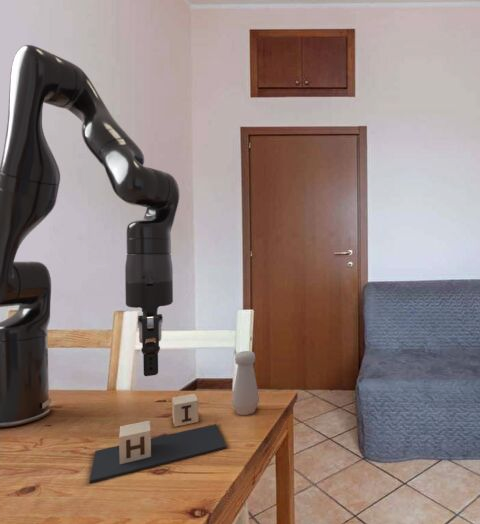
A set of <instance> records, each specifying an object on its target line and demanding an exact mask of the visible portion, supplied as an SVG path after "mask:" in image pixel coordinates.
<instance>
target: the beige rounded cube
mask: <svg viewBox="0 0 480 524" xmlns="http://www.w3.org/2000/svg"><path fill="white" fill-rule="evenodd" d="M151 435H152V433H151V420H145V421H139V422H135V423H134V422H133V423H128V424H125V425H120V426H119V436H118V446H119V455H120V464H124V463H128V462H132V461H136V460H140V459H144V458H148V457H151V438H152V436H151Z"/></svg>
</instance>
